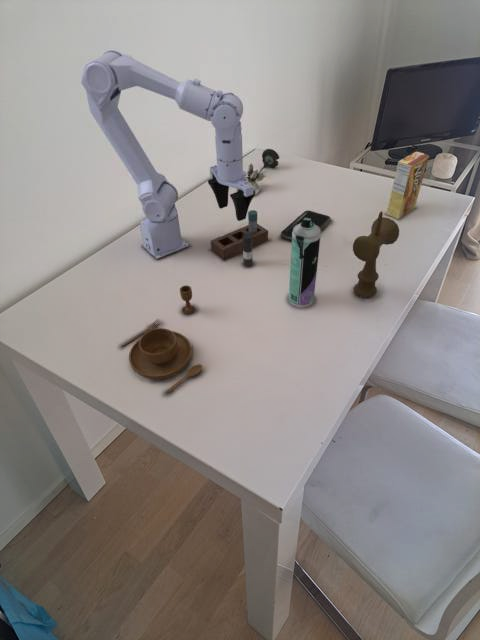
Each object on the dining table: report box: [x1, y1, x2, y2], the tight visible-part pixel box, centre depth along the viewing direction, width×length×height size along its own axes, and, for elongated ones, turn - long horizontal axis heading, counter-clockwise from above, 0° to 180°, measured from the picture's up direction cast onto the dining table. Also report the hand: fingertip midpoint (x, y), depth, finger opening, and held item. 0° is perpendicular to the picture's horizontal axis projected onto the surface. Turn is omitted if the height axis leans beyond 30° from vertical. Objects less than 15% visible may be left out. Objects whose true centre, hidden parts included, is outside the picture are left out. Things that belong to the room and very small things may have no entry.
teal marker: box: [247, 209, 258, 234], centre depth 111 cm, size 2×2×8 cm
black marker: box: [242, 234, 254, 268], centre depth 103 cm, size 2×2×8 cm
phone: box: [280, 210, 331, 242], centre depth 116 cm, size 8×1×15 cm
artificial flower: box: [245, 148, 280, 196], centre depth 136 cm, size 9×22×10 cm, turn 152°
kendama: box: [352, 211, 400, 299], centre depth 89 cm, size 6×10×20 cm, turn 140°
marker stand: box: [210, 223, 269, 261], centre depth 110 cm, size 14×6×3 cm, turn 126°
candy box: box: [386, 151, 430, 220], centre depth 116 cm, size 9×4×15 cm, turn 134°
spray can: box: [288, 217, 322, 309], centre depth 88 cm, size 6×6×20 cm
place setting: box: [120, 285, 203, 395], centre depth 83 cm, size 18×20×6 cm
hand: (232, 213), depth 103 cm, fingers open, 7 cm apart
